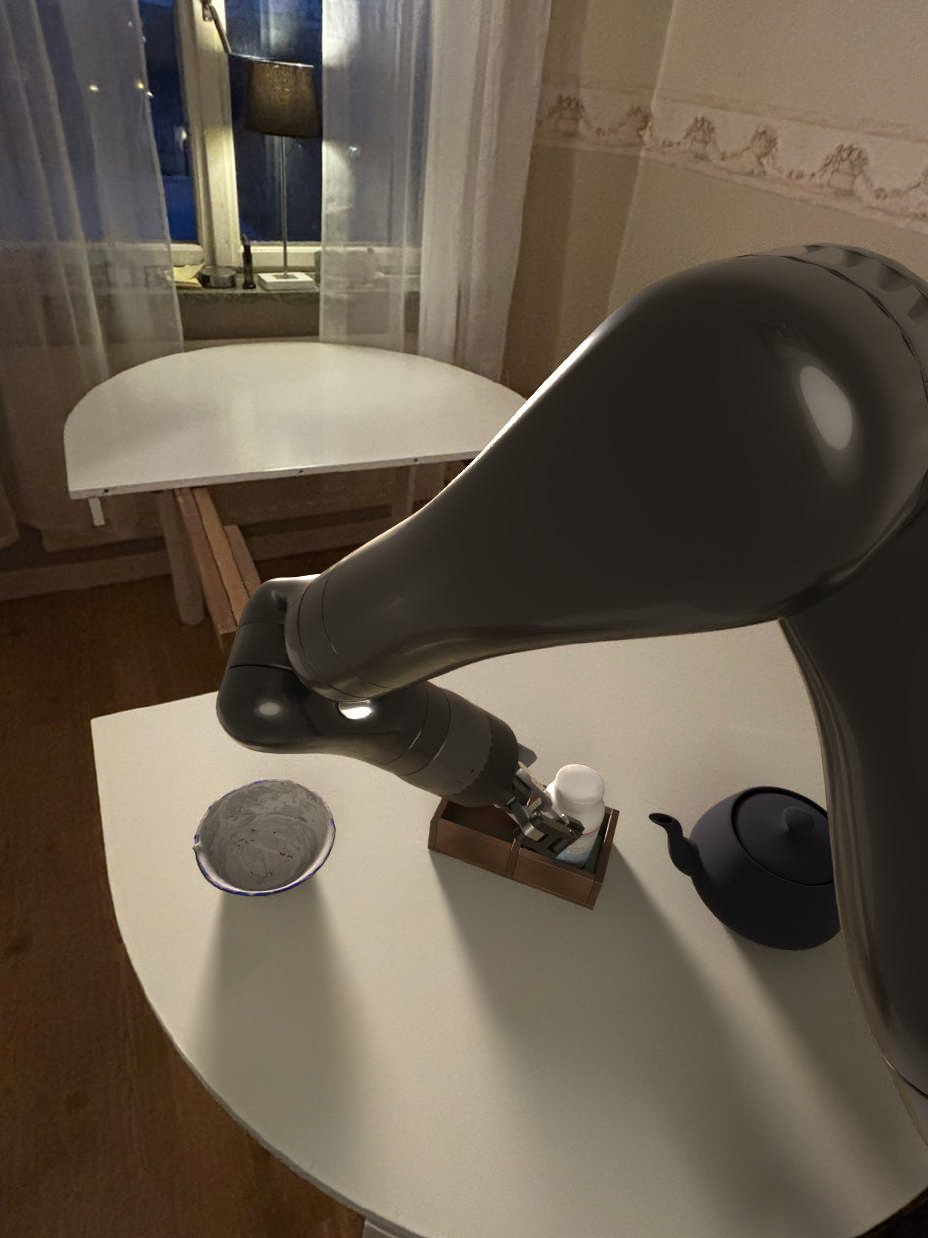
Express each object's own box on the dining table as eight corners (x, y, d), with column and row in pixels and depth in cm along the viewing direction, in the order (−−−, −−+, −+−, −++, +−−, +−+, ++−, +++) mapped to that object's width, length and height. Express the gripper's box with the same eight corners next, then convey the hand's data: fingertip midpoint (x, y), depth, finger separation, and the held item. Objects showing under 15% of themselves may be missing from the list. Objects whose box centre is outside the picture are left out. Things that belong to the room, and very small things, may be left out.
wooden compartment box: (610, 837, 79) (619, 810, 76) (592, 910, 72) (602, 884, 69) (457, 783, 82) (461, 756, 79) (427, 848, 75) (430, 821, 72)
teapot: (842, 839, 81) (893, 767, 74) (897, 981, 69) (964, 911, 61) (618, 811, 81) (645, 736, 74) (632, 948, 69) (667, 874, 61)
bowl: (231, 949, 65) (225, 920, 62) (180, 844, 73) (172, 814, 70) (359, 878, 72) (359, 849, 69) (300, 788, 80) (298, 759, 77)
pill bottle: (519, 835, 77) (536, 764, 70) (571, 821, 79) (593, 751, 72) (544, 886, 72) (565, 816, 65) (598, 870, 74) (624, 801, 67)
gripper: (528, 783, 51) (625, 832, 62) (444, 653, 60) (542, 715, 72) (451, 852, 52) (561, 887, 64) (382, 714, 62) (487, 766, 73)
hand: (551, 796), depth 68 cm, fingers open, 8 cm apart
